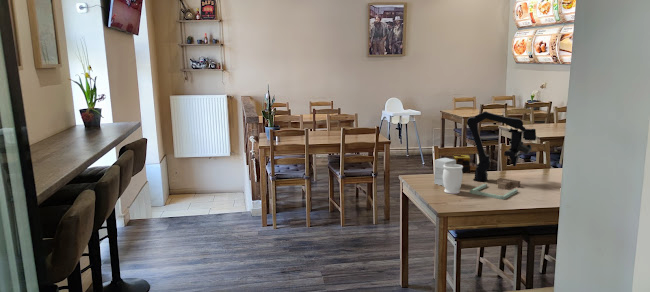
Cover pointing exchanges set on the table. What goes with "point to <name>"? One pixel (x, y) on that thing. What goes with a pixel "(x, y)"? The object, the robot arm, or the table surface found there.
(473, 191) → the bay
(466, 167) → the yellow and brown box
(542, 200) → the table surface
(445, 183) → the jar
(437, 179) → the supplement box
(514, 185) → the t block
